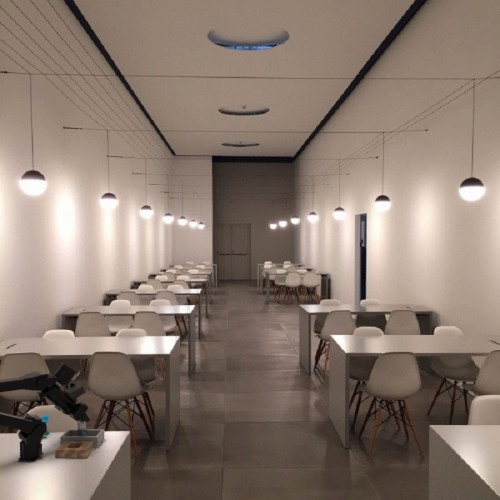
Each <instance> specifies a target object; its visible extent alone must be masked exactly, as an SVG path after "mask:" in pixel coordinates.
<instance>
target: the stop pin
mask: <svg viewBox="0 0 500 500" xmlns="http://www.w3.org/2000/svg"><path fill="white" fill-rule="evenodd" d="M86 424H87V422H85V421H80V420H79V421H76V425H77V426H76V427H77V428H76V429H78V436H86V429H87V426H86Z"/></svg>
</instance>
